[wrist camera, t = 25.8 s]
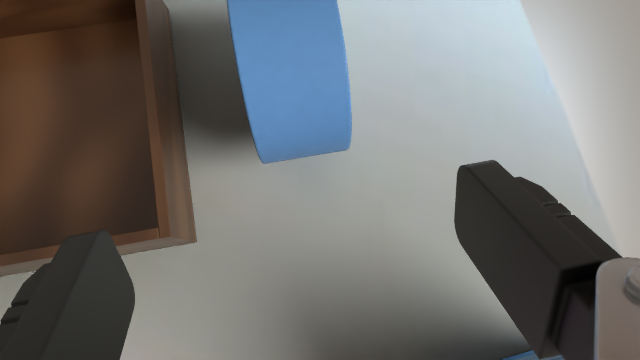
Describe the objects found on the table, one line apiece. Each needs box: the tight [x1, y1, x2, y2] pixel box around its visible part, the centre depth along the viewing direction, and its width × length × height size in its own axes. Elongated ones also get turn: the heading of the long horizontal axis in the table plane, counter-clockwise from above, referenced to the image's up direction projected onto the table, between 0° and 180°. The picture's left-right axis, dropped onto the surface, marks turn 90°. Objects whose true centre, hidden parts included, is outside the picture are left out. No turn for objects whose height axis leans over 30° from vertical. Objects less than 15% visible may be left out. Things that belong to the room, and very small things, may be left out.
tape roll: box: [227, 0, 352, 164], centre depth 24 cm, size 5×10×10 cm, turn 10°
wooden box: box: [0, 0, 197, 276], centre depth 26 cm, size 15×16×5 cm
